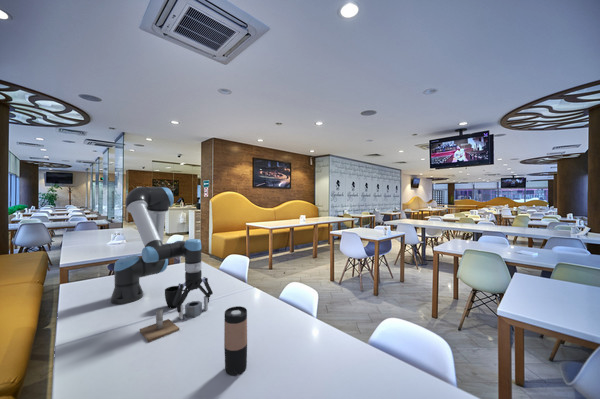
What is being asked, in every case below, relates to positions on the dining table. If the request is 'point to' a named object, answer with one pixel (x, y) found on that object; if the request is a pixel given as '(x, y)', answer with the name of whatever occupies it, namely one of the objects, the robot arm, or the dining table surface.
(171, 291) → the mug
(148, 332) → the shaft stand
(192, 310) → the ring
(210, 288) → the robot arm
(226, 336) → the travel mug
